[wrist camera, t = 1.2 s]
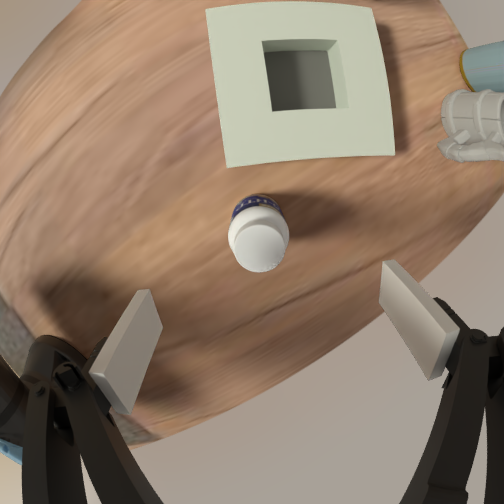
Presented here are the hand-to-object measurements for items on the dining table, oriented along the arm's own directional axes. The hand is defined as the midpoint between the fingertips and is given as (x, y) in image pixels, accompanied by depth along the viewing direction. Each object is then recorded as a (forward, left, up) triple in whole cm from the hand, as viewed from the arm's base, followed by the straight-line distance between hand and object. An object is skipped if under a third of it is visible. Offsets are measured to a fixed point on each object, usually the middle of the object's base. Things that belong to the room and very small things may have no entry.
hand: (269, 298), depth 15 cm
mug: (+25, +10, -16) cm, 32 cm away
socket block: (+6, +14, -16) cm, 22 cm away
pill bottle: (0, 0, -16) cm, 16 cm away
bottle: (+32, +18, -16) cm, 40 cm away
